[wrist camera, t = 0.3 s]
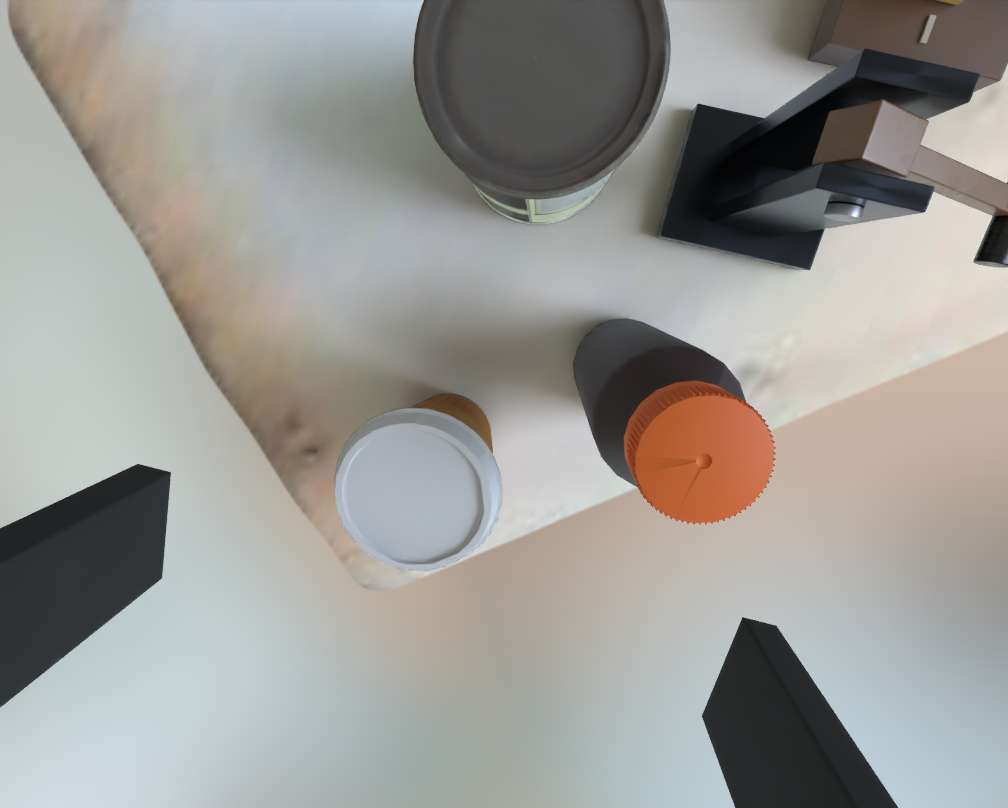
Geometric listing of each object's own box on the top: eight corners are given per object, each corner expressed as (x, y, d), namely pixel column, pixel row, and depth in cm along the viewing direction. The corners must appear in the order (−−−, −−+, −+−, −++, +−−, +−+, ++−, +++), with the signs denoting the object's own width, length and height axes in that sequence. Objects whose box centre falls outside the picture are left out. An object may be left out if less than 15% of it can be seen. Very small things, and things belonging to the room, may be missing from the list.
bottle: (602, 428, 39) (663, 579, 20) (555, 350, 38) (569, 429, 18) (685, 380, 38) (839, 493, 18) (639, 299, 37) (749, 326, 17)
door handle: (1021, 154, 26) (1084, 148, 24) (973, 266, 28) (1028, 269, 25) (843, 67, 22) (900, 49, 20) (796, 204, 23) (845, 202, 21)
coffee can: (456, 218, 36) (404, 183, 22) (470, 48, 34) (421, -107, 20) (606, 235, 36) (646, 210, 22) (631, 64, 33) (695, -83, 19)
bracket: (846, 143, 33) (1076, 44, 19) (801, 270, 35) (979, 266, 21) (692, 109, 34) (805, -16, 19) (656, 237, 35) (734, 211, 21)
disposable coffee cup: (365, 406, 40) (293, 460, 28) (476, 350, 38) (448, 383, 27) (425, 511, 42) (380, 603, 30) (534, 462, 40) (531, 539, 28)
